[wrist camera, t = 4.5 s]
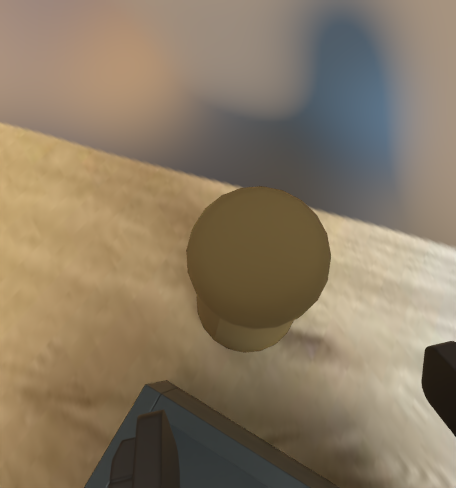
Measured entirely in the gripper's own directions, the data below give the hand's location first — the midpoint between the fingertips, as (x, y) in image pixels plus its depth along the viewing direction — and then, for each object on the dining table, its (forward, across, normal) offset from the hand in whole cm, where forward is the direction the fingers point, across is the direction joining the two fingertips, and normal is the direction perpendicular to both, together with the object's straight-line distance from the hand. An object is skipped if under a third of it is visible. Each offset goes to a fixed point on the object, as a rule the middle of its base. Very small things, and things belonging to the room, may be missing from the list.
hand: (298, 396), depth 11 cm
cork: (+11, 0, +4) cm, 12 cm away
